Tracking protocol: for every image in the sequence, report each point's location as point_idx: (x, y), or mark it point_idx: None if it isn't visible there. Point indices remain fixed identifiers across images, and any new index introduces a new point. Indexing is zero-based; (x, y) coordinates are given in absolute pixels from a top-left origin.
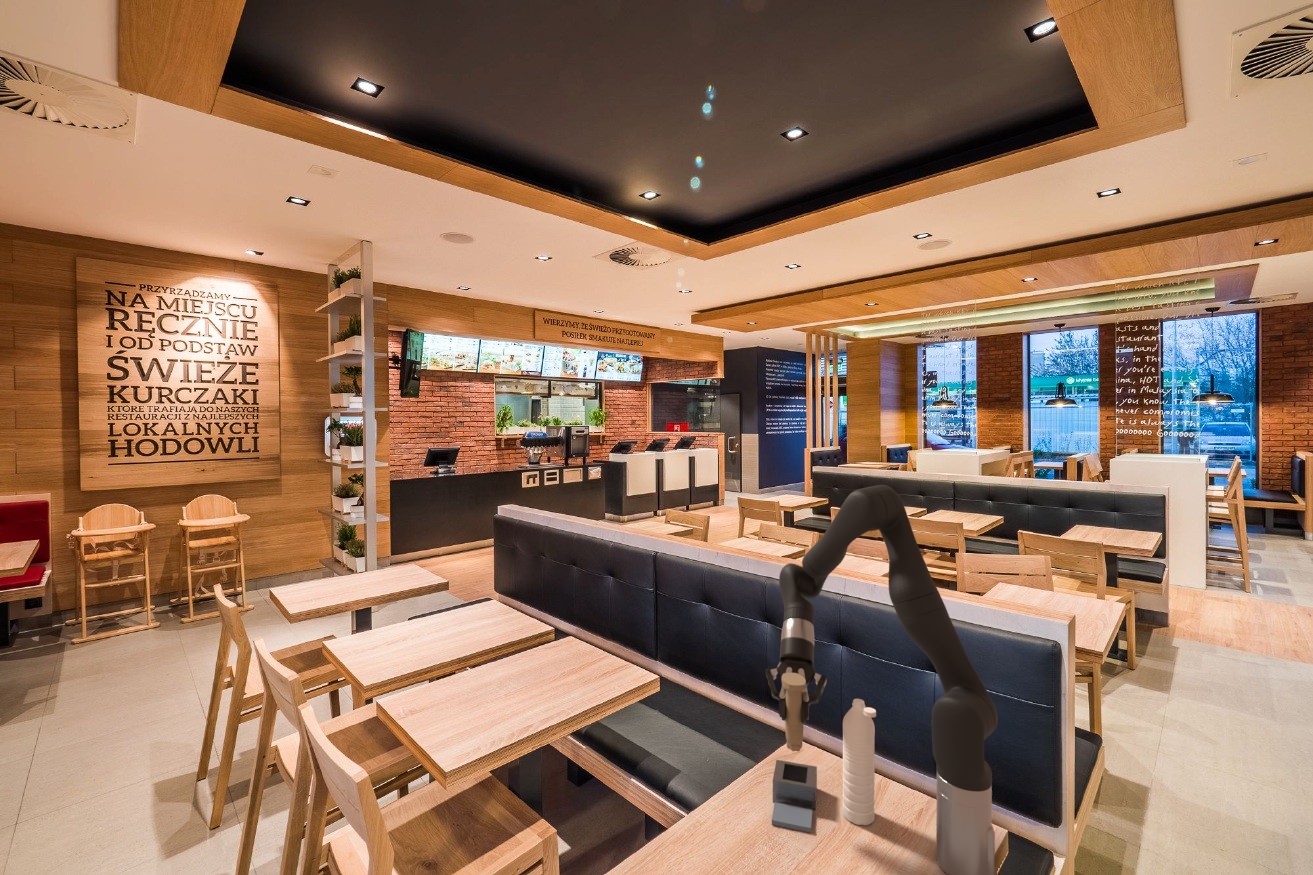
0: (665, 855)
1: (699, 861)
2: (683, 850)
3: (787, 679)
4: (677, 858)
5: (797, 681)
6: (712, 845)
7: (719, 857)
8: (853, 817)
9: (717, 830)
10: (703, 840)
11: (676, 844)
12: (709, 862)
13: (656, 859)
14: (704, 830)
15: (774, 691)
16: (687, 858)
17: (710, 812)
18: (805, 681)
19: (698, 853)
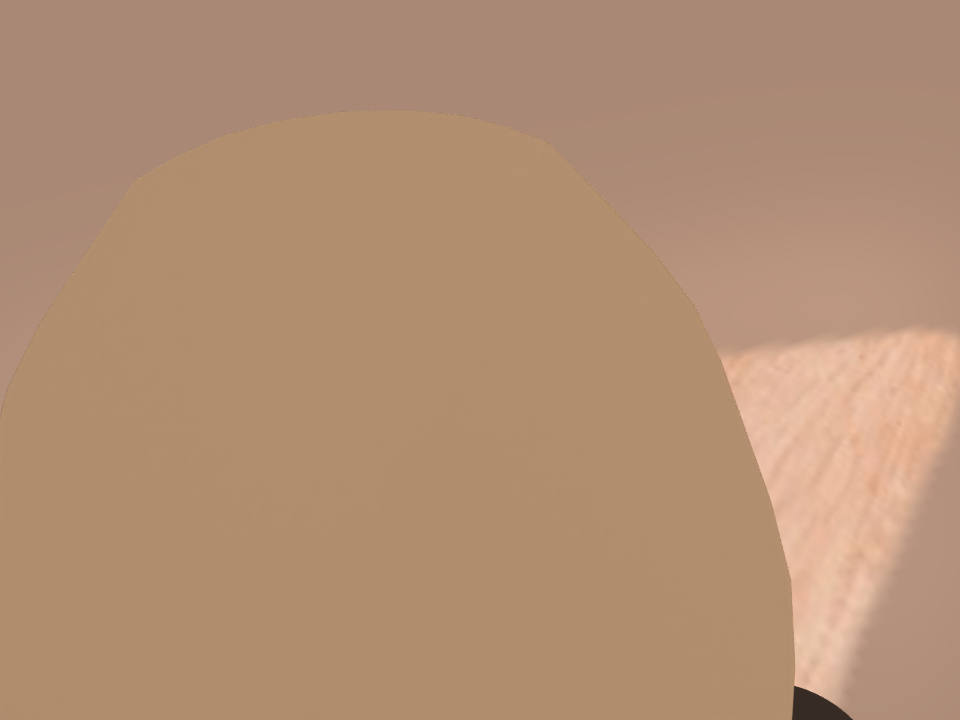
0: (926, 368)
1: (801, 358)
2: (873, 399)
3: (585, 425)
4: (879, 361)
5: (292, 316)
6: (776, 439)
7: (736, 385)
8: None
9: (779, 526)
10: (818, 460)
11: (910, 424)
12: (765, 359)
13: (947, 347)
14: (831, 517)
15: (802, 716)
16: (846, 366)
17: (842, 645)
18: (39, 330)
19: (816, 393)
